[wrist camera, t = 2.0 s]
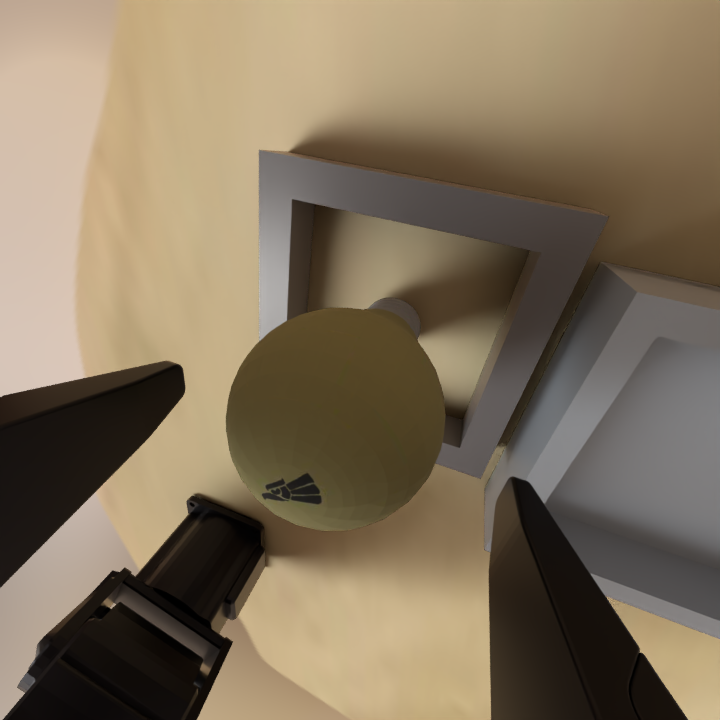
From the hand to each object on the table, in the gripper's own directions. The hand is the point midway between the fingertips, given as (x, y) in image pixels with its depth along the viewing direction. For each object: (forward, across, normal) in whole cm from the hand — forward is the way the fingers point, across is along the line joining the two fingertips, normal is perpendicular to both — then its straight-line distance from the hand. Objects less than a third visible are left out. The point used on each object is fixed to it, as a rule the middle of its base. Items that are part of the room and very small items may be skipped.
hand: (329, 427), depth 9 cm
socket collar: (+8, 0, 0) cm, 8 cm away
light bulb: (+8, 0, 0) cm, 8 cm away
